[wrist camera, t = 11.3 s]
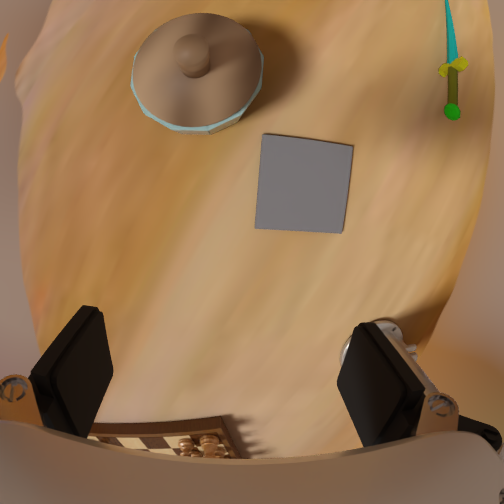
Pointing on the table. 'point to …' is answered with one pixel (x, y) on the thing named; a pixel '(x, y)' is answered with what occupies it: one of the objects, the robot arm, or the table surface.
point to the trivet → (302, 185)
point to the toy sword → (452, 69)
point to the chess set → (171, 437)
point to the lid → (197, 70)
